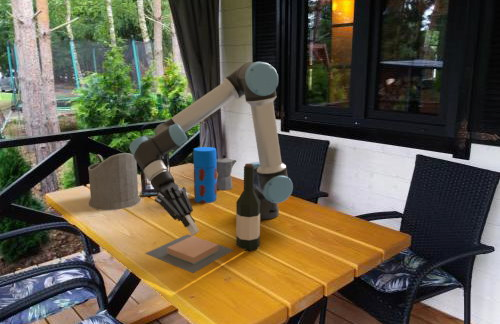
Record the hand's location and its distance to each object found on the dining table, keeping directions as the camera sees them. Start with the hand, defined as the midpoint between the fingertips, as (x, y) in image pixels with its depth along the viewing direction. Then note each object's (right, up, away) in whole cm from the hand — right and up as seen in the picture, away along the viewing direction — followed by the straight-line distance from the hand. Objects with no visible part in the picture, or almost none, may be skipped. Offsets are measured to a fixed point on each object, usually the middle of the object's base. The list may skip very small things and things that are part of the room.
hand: (195, 233), depth 129 cm
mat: (-2, -8, +3) cm, 9 cm away
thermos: (-4, +5, +60) cm, 61 cm away
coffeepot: (+3, +10, +80) cm, 81 cm away
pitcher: (-49, +5, +59) cm, 76 cm away
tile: (-6, -5, +5) cm, 9 cm away
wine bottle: (+17, -7, +10) cm, 21 cm away
